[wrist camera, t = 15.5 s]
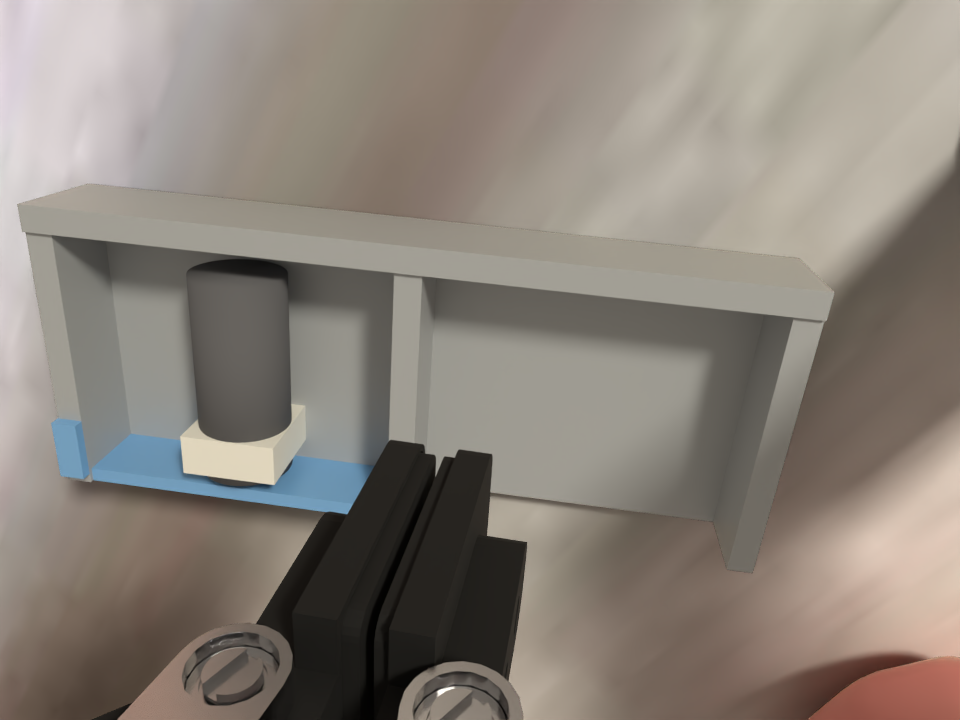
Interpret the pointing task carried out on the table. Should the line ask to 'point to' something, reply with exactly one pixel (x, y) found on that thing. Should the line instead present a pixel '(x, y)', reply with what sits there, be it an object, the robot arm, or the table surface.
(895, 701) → the cell model
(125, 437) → the divided grey tray
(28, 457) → the table surface
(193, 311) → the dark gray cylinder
